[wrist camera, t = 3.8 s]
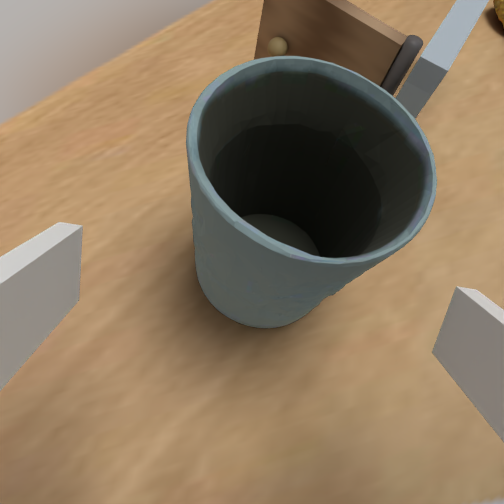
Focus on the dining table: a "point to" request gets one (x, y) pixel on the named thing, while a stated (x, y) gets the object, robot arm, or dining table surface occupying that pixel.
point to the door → (337, 38)
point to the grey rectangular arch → (439, 54)
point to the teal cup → (299, 185)
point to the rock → (499, 9)
